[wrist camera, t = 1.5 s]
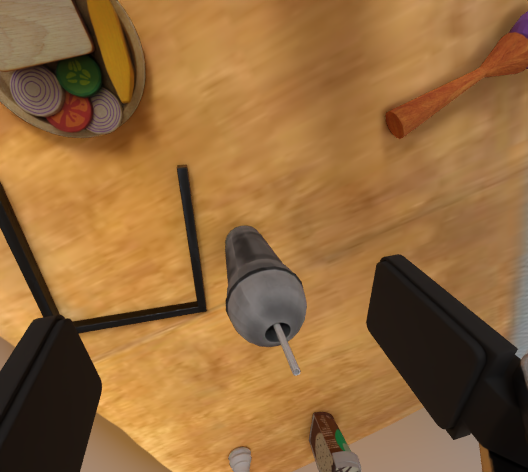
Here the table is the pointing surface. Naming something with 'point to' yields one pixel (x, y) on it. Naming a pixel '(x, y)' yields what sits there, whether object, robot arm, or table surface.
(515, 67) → the purple maraca
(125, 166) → the table surface
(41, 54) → the toy sandwich meal
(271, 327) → the beverage cup
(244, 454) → the rook chess piece
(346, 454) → the food container
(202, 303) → the frame
